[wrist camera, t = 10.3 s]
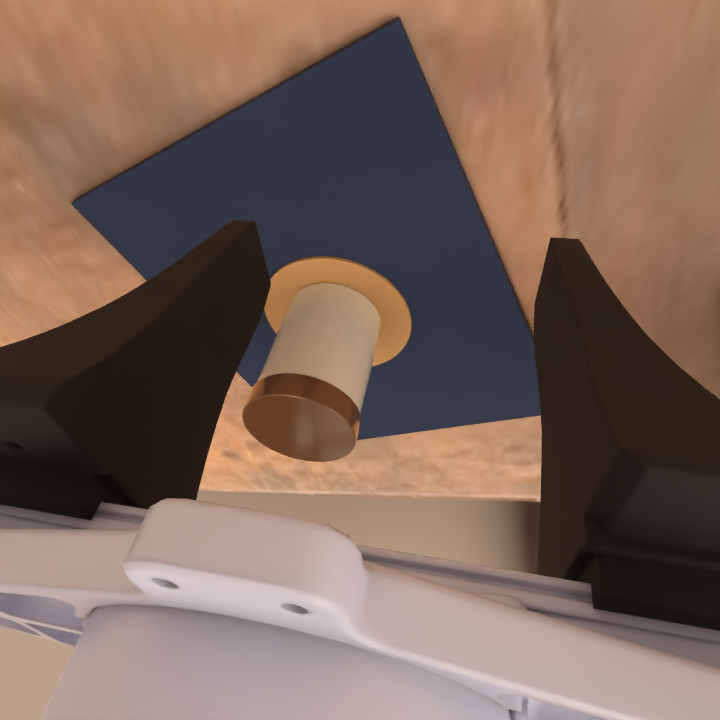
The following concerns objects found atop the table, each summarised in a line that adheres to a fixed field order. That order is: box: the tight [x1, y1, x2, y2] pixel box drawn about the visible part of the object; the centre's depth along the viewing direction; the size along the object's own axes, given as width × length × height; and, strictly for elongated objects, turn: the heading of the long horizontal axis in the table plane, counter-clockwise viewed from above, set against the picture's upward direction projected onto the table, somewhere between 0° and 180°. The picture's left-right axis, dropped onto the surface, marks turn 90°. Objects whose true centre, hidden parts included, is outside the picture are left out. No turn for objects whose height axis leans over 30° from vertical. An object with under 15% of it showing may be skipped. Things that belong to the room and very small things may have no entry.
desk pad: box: [71, 17, 541, 440], centre depth 28 cm, size 22×18×1 cm
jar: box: [242, 283, 381, 462], centre depth 26 cm, size 5×5×7 cm
